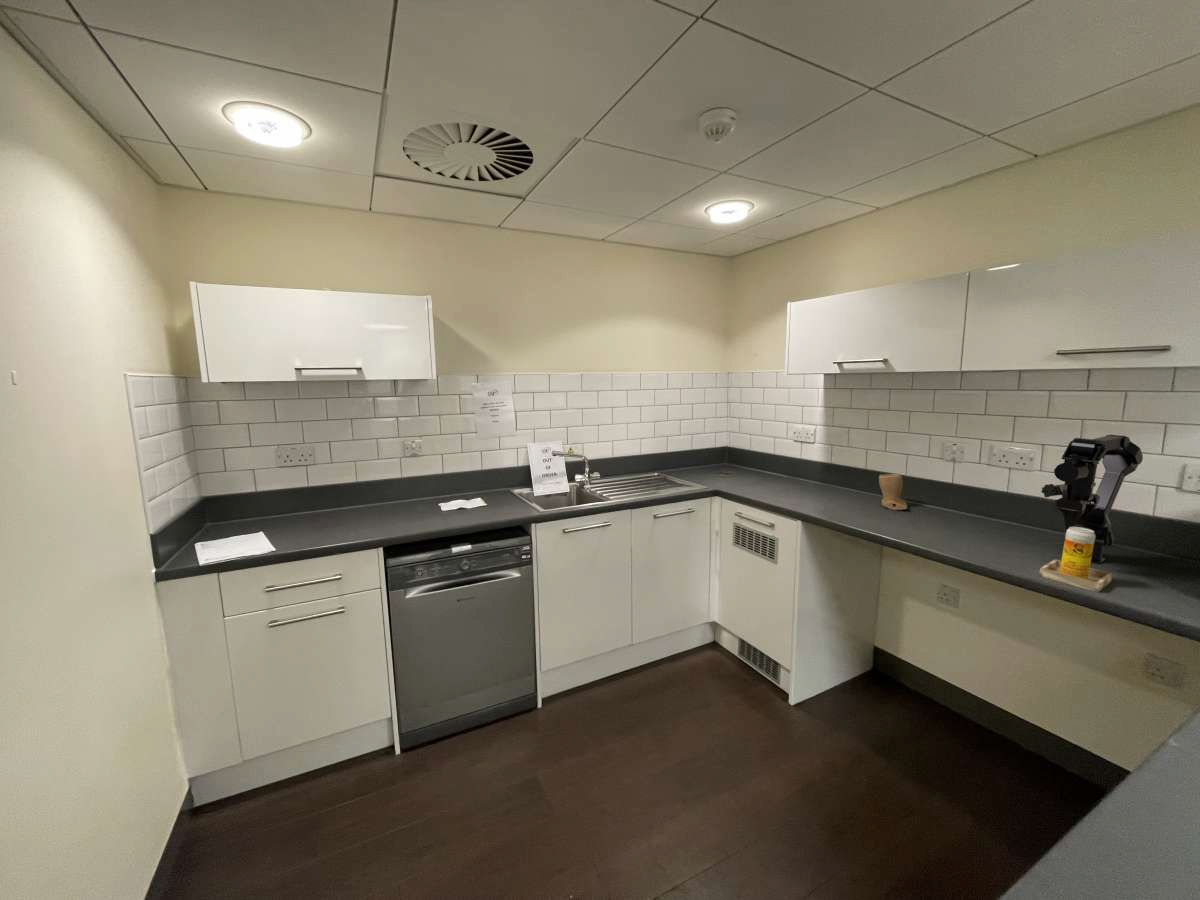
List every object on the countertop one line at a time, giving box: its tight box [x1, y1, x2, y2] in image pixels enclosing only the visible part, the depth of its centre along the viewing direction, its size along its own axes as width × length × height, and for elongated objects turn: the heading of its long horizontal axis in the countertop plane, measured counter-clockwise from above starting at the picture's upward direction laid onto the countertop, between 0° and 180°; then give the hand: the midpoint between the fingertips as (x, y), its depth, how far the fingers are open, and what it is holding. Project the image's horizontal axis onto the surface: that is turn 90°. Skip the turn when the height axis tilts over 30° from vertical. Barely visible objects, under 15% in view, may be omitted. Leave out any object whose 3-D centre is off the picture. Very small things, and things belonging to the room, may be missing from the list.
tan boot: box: [878, 473, 908, 511], centre depth 220 cm, size 15×12×15 cm
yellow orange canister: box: [1060, 527, 1095, 579], centre depth 143 cm, size 6×6×15 cm
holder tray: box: [1038, 559, 1114, 593], centre depth 145 cm, size 13×13×2 cm
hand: (1073, 527), depth 152 cm, fingers open, 9 cm apart
